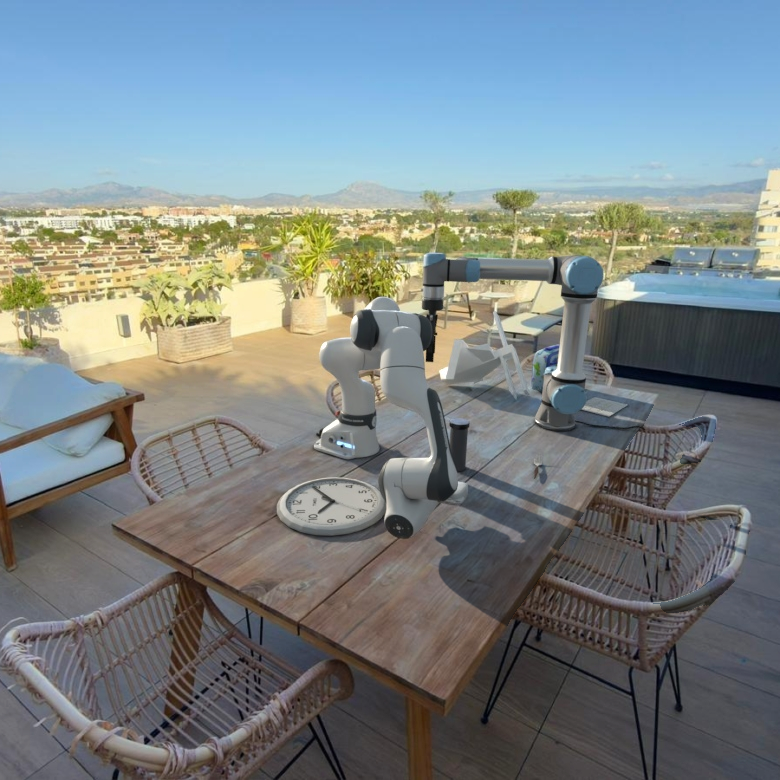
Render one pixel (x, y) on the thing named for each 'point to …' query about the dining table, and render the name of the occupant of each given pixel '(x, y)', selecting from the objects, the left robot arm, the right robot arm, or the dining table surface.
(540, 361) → the lunch box
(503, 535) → the dining table surface
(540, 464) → the fork
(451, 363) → the white plastic object
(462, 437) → the jar
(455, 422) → the lid
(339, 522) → the wall clock
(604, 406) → the invitation card
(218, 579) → the dining table surface
